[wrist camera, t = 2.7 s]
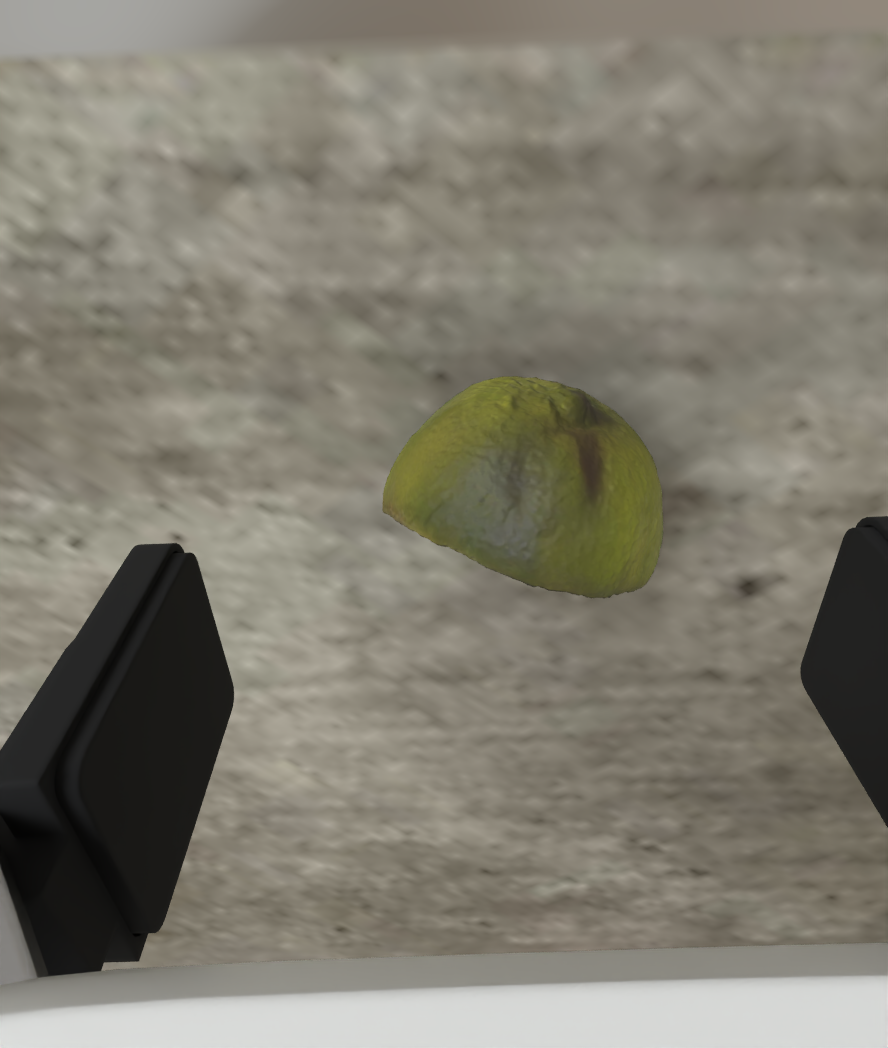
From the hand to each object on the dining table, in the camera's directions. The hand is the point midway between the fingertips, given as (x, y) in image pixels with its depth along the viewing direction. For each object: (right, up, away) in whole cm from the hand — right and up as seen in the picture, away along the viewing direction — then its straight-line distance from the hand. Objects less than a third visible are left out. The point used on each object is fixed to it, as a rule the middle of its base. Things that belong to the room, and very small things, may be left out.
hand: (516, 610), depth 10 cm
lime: (0, +3, +4) cm, 5 cm away
